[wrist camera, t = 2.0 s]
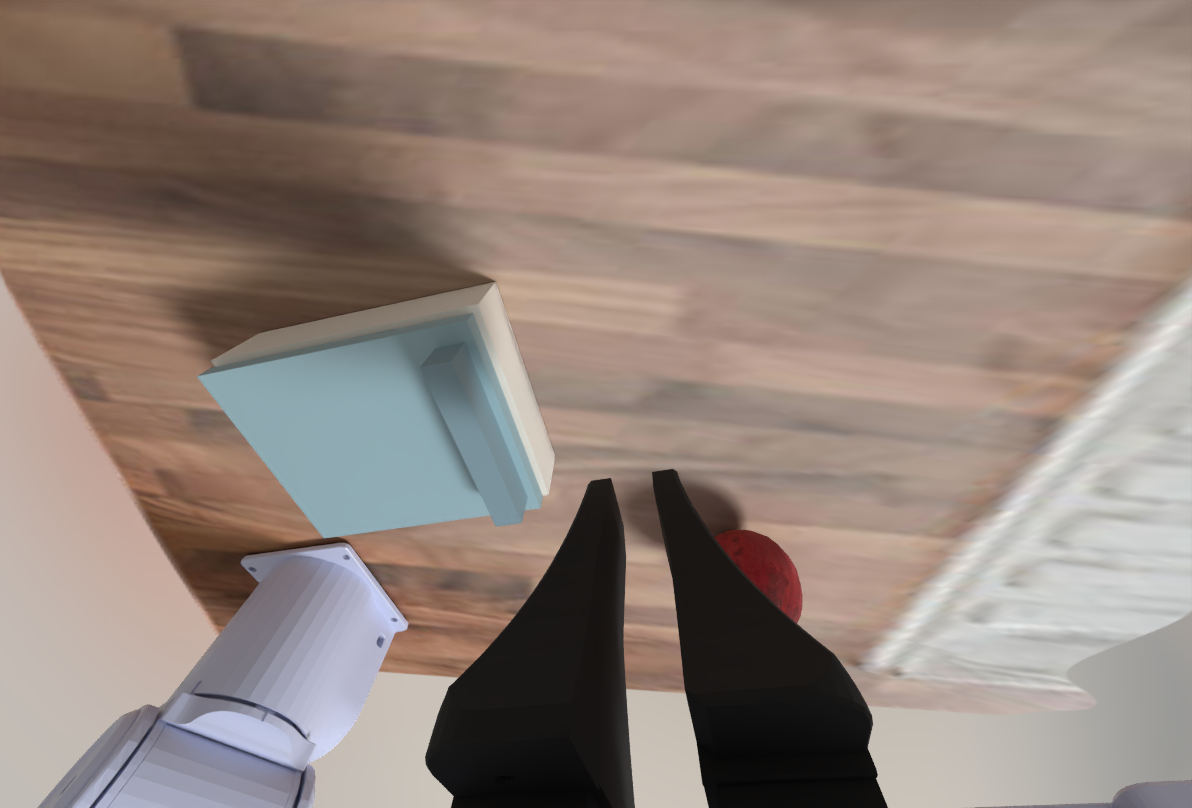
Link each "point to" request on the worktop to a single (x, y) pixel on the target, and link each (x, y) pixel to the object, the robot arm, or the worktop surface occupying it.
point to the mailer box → (422, 310)
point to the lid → (384, 428)
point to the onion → (765, 568)
